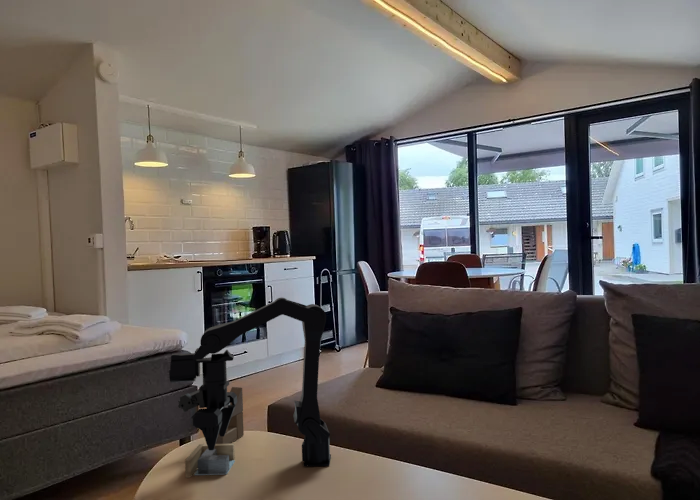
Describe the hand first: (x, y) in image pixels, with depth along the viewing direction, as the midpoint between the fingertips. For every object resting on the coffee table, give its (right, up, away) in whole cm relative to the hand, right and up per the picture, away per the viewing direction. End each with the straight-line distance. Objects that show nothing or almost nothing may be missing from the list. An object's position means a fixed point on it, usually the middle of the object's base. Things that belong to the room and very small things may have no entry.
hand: (216, 442), depth 127 cm
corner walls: (-2, -7, +3) cm, 8 cm away
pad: (-1, -7, +3) cm, 8 cm away
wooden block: (-2, -8, +21) cm, 23 cm away
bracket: (-1, -7, +2) cm, 7 cm away
